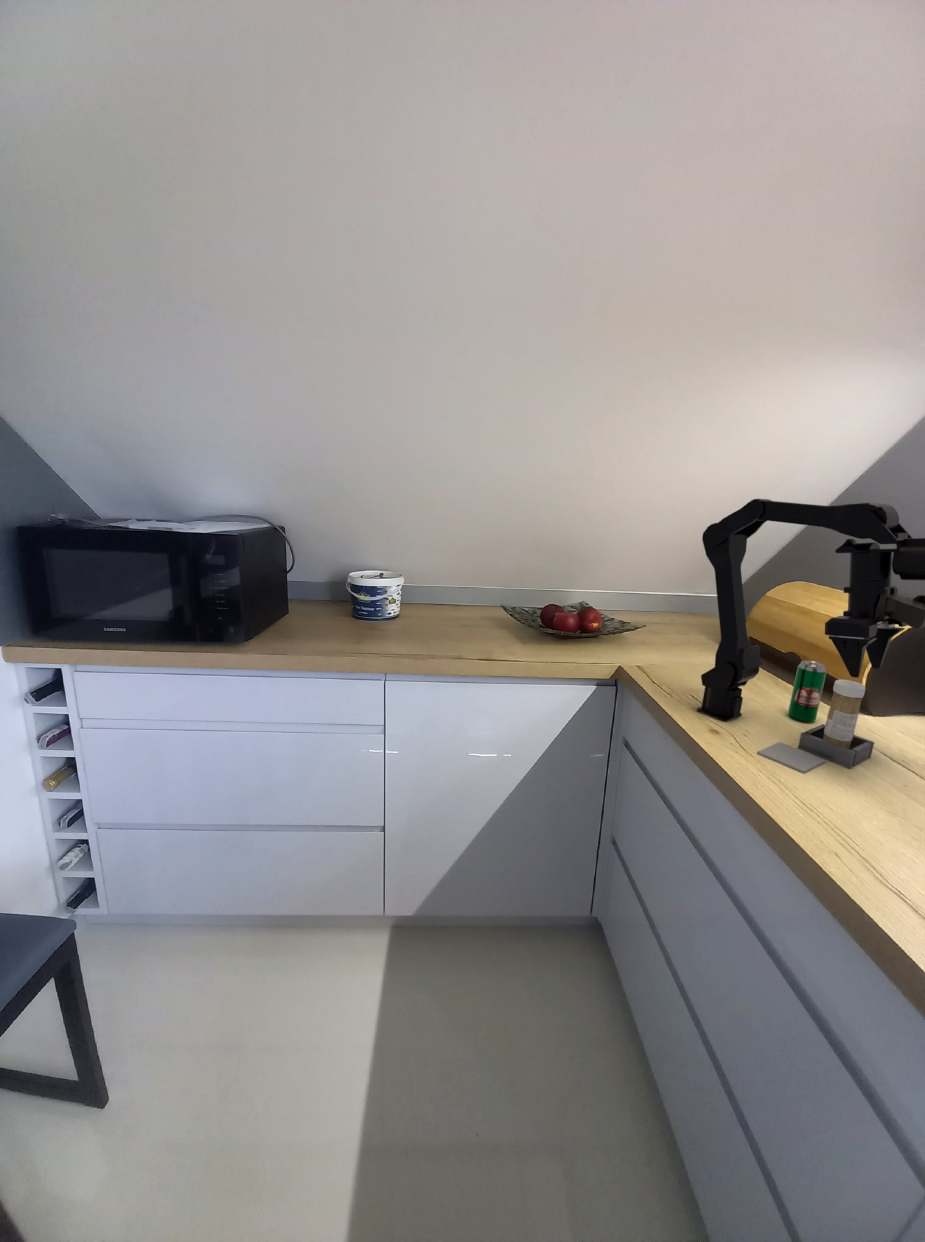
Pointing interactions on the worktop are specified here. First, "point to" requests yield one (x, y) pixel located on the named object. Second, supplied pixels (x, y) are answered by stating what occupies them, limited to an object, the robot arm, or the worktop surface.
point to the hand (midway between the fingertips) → (865, 672)
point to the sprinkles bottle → (843, 712)
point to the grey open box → (835, 748)
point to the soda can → (807, 691)
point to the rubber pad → (791, 757)
